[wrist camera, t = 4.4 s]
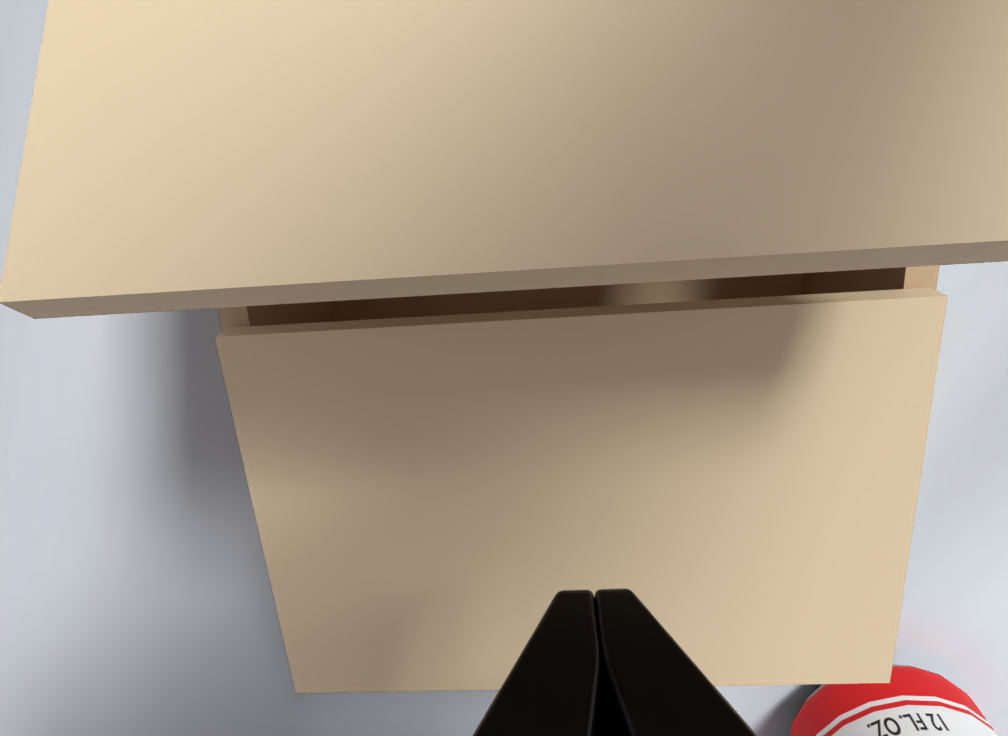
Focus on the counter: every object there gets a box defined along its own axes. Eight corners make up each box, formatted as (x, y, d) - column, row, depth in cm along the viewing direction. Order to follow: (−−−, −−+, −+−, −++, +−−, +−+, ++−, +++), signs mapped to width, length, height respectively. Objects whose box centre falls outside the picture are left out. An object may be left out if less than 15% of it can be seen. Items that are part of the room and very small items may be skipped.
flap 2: (930, 287, 13) (947, 295, 13) (877, 662, 16) (889, 682, 16) (227, 327, 14) (214, 336, 14) (303, 674, 17) (295, 693, 17)
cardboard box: (851, -167, 16) (1018, -318, 10) (798, 523, 22) (885, 664, 16) (249, -105, 17) (105, -211, 11) (357, 538, 23) (297, 676, 17)
